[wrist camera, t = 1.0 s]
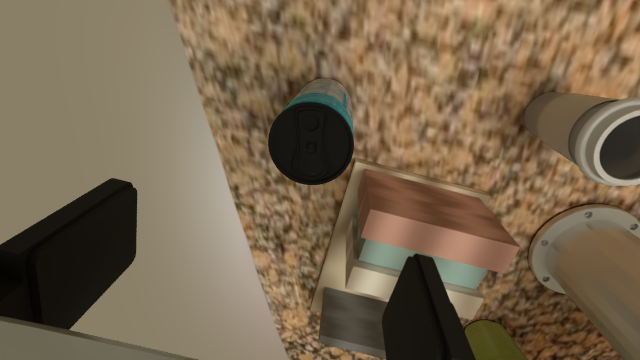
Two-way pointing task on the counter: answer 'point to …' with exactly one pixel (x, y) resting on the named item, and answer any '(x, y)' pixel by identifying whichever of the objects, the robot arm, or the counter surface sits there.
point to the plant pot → (492, 342)
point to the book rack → (403, 250)
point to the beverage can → (314, 134)
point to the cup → (590, 134)
